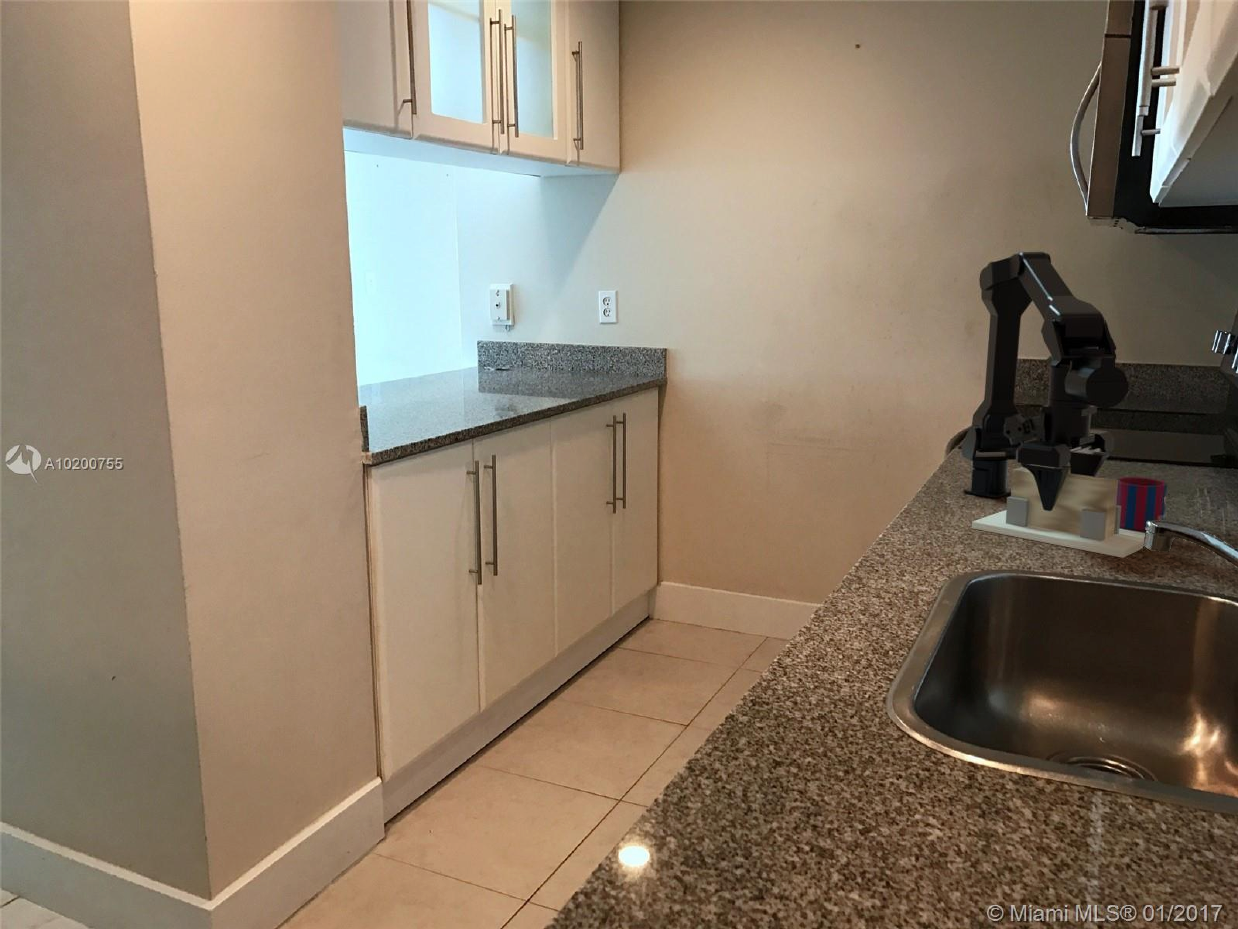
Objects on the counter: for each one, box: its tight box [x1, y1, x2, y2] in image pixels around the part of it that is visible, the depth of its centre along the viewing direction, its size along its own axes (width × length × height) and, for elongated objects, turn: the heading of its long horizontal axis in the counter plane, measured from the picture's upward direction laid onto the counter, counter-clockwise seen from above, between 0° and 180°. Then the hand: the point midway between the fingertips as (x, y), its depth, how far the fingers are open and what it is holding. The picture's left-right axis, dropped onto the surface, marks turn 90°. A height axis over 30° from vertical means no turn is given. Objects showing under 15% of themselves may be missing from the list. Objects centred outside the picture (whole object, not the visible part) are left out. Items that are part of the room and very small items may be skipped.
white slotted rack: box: [971, 496, 1146, 559], centre depth 141 cm, size 11×22×5 cm, turn 41°
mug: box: [1116, 476, 1168, 532], centre depth 146 cm, size 7×10×7 cm
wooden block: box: [1010, 466, 1118, 539], centre depth 140 cm, size 14×4×8 cm, turn 41°
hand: (1062, 505), depth 140 cm, fingers open, 9 cm apart
